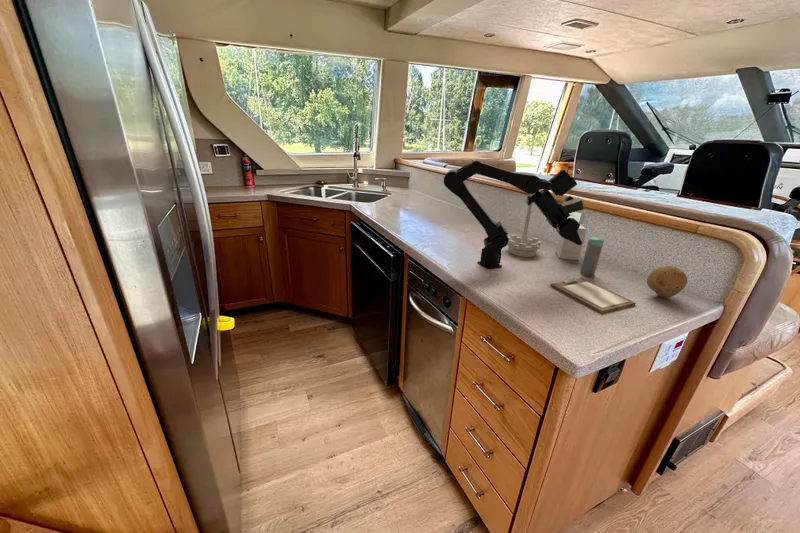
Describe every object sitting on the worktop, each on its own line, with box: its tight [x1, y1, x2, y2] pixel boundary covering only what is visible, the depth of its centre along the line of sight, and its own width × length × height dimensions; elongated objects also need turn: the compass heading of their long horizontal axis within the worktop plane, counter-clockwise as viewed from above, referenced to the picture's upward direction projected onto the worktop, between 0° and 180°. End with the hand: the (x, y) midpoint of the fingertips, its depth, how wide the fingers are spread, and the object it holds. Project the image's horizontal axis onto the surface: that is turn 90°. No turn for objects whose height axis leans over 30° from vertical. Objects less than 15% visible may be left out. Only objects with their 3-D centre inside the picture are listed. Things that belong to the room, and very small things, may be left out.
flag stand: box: [506, 194, 542, 258], centre depth 128 cm, size 13×13×30 cm
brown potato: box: [646, 265, 688, 299], centre depth 97 cm, size 9×9×10 cm
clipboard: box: [549, 277, 636, 314], centre depth 99 cm, size 14×18×1 cm
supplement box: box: [554, 223, 588, 261], centre depth 128 cm, size 7×7×13 cm
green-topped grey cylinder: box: [579, 236, 605, 278], centre depth 111 cm, size 4×4×13 cm
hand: (576, 240), depth 110 cm, fingers open, 9 cm apart
